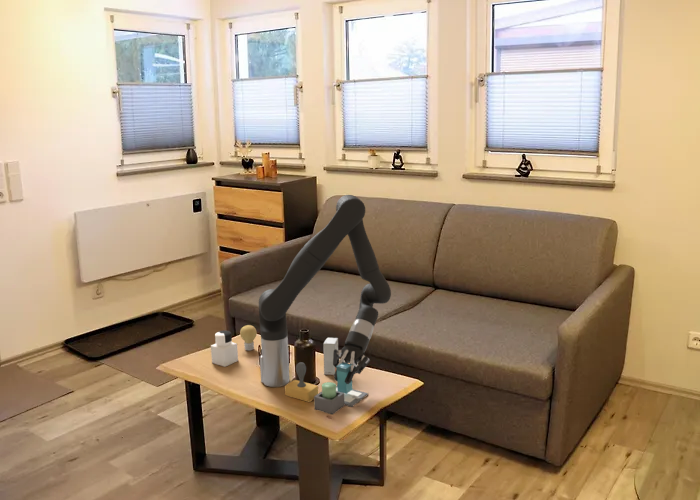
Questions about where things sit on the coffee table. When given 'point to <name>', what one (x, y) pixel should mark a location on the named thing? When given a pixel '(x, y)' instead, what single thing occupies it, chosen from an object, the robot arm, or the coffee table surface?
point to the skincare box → (329, 355)
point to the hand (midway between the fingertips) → (341, 381)
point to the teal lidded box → (343, 378)
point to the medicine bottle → (224, 349)
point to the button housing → (329, 403)
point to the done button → (329, 390)
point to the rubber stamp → (301, 386)
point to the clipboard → (353, 397)
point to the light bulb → (248, 336)
